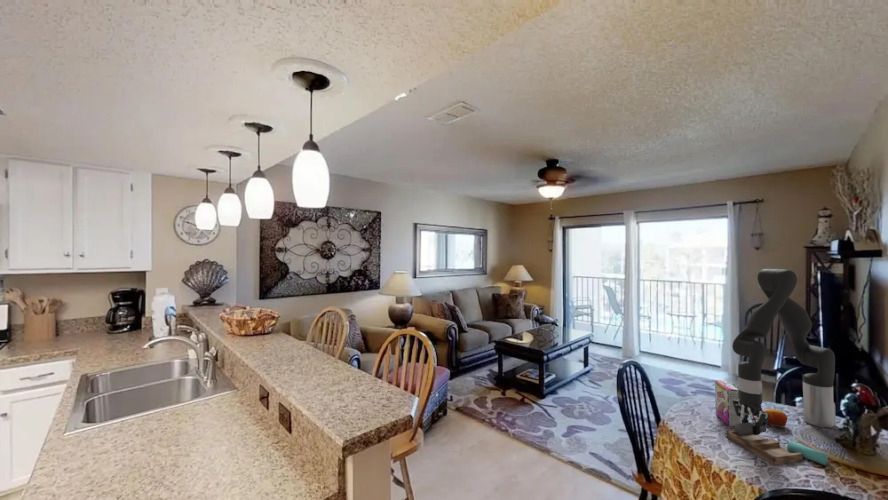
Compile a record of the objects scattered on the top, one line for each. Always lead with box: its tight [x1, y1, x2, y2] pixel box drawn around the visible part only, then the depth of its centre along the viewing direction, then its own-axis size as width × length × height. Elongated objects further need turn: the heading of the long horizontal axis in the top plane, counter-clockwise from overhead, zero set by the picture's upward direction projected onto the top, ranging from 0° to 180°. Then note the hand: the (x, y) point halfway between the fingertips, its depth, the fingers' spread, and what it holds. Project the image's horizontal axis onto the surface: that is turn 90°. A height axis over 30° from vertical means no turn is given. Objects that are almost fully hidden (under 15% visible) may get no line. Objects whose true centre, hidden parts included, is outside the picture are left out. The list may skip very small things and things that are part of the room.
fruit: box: [763, 408, 788, 430], centre depth 159 cm, size 8×8×8 cm
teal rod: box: [786, 440, 829, 466], centre depth 136 cm, size 10×4×4 cm
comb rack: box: [726, 429, 803, 465], centre depth 143 cm, size 12×19×2 cm, turn 7°
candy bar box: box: [714, 379, 741, 428], centre depth 165 cm, size 11×5×16 cm, turn 168°
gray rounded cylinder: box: [734, 421, 768, 435], centre depth 148 cm, size 10×4×4 cm, turn 97°
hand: (750, 431), depth 148 cm, fingers closed on gray rounded cylinder, 4 cm apart
